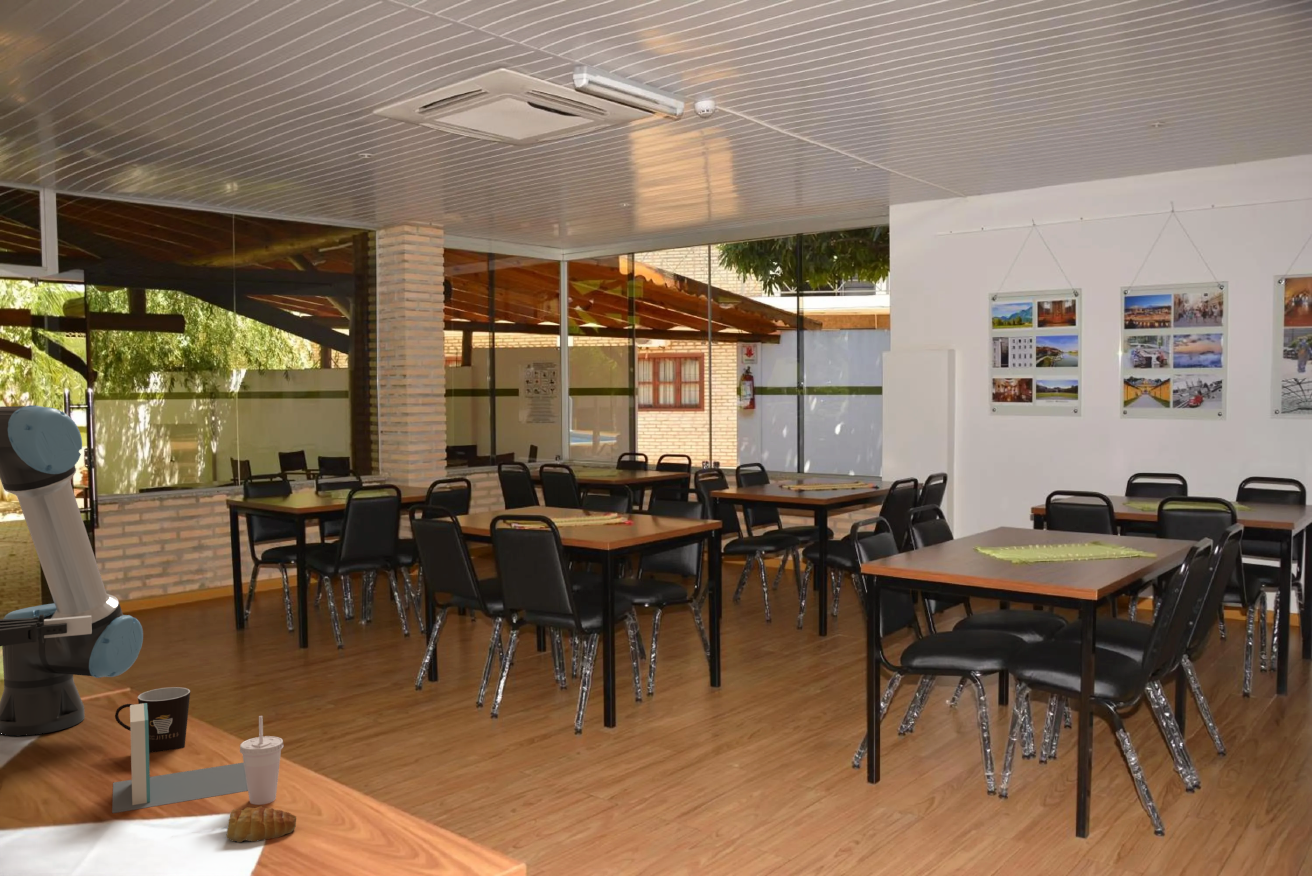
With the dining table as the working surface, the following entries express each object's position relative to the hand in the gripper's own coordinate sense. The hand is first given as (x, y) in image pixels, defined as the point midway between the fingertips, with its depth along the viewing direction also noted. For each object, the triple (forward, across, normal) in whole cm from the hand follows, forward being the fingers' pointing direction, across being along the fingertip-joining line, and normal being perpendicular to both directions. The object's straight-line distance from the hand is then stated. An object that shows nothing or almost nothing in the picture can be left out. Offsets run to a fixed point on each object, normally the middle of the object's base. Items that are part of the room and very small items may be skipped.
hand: (91, 624), depth 166 cm
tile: (+7, +5, -27) cm, 28 cm away
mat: (+13, +5, -27) cm, 31 cm away
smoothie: (+24, +17, -28) cm, 40 cm away
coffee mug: (+10, -19, -28) cm, 35 cm away
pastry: (+22, +28, -28) cm, 45 cm away
